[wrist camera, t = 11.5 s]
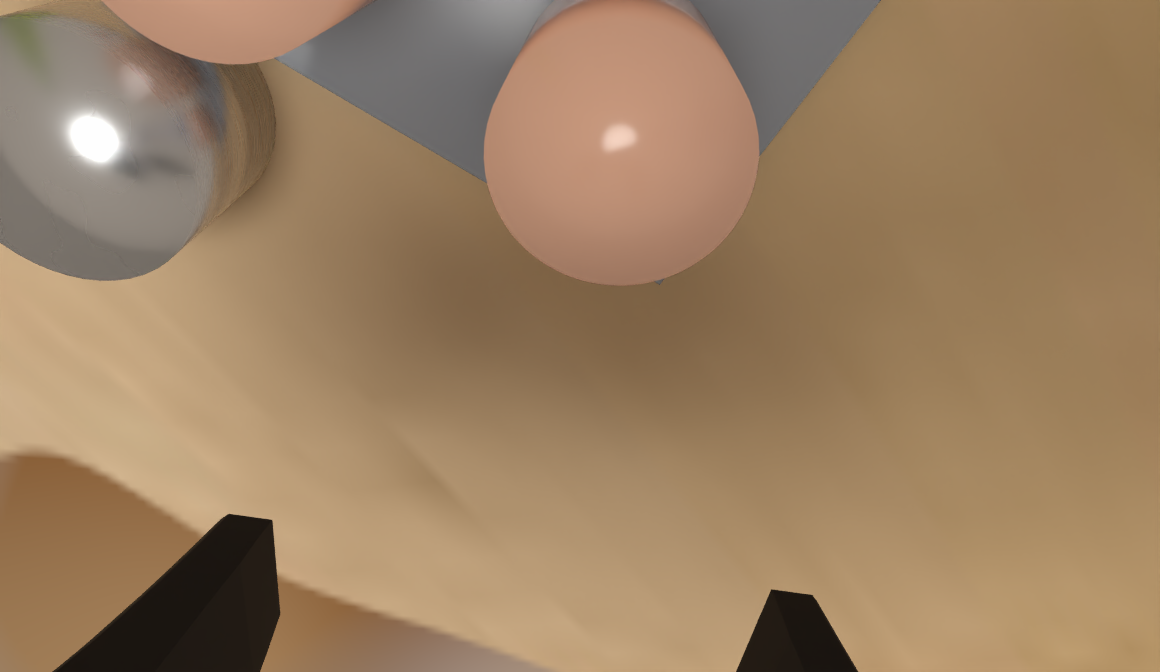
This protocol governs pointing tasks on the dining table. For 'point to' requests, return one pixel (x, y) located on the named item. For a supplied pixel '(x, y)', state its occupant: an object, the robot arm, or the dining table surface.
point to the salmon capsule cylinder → (621, 141)
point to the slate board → (495, 37)
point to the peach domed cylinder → (233, 25)
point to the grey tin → (118, 141)
